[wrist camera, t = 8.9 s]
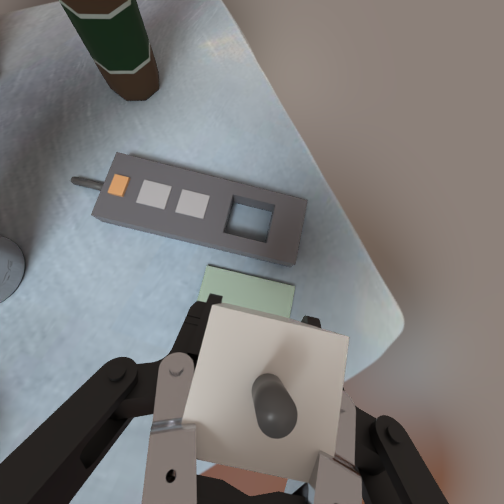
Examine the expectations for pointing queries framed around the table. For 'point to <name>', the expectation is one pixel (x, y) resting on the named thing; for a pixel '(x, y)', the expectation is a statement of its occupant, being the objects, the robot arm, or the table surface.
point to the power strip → (194, 208)
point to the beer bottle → (117, 44)
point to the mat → (247, 291)
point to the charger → (266, 392)
